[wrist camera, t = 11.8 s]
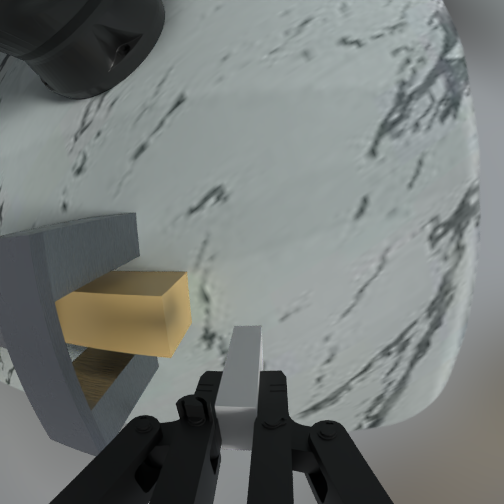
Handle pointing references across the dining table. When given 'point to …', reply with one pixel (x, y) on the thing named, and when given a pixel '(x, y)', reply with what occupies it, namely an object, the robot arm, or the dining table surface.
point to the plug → (127, 313)
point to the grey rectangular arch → (51, 336)
